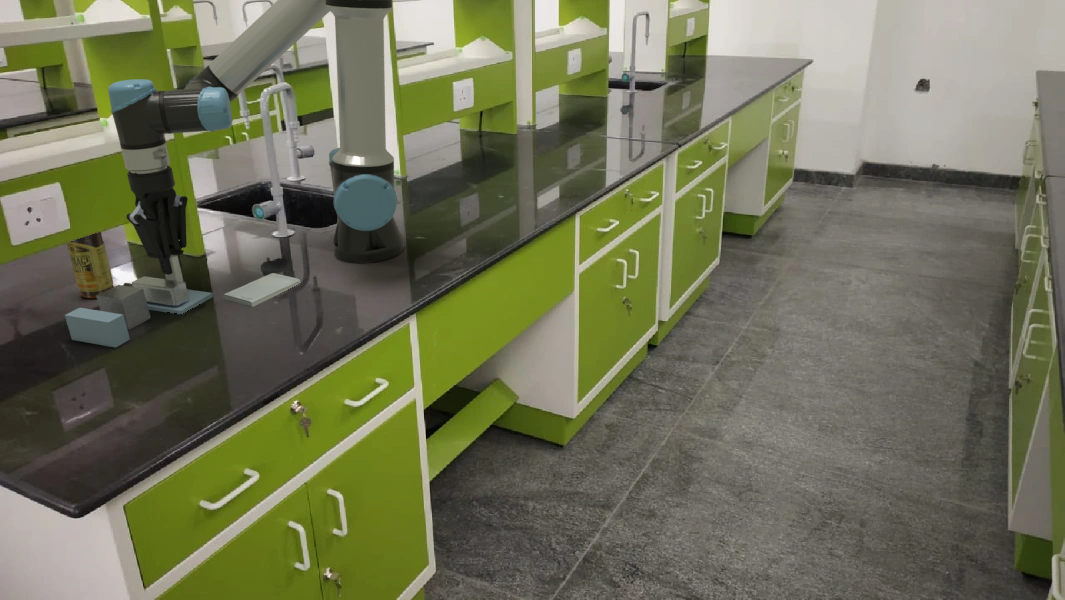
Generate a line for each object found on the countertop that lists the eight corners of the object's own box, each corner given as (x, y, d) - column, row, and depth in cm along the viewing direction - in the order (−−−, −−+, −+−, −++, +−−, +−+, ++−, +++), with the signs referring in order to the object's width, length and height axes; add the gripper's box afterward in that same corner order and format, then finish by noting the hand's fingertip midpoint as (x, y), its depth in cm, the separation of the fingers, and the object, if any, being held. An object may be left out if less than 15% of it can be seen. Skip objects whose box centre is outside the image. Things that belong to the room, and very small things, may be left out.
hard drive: (251, 301, 152) (300, 278, 161) (222, 293, 156) (271, 271, 165) (253, 309, 152) (301, 286, 162) (223, 301, 156) (272, 279, 166)
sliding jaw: (189, 299, 153) (185, 282, 152) (176, 306, 150) (171, 289, 149) (133, 291, 158) (129, 274, 156) (120, 298, 155) (115, 280, 153)
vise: (213, 296, 157) (208, 273, 155) (122, 348, 138) (115, 323, 136) (161, 289, 161) (155, 266, 160) (65, 338, 142) (58, 314, 140)
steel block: (150, 318, 149) (143, 288, 147) (129, 330, 145) (121, 299, 142) (126, 314, 151) (118, 284, 149) (104, 325, 147) (96, 295, 144)
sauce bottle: (73, 297, 159) (45, 200, 151) (100, 285, 164) (74, 191, 156) (97, 302, 157) (69, 203, 148) (123, 290, 162) (98, 194, 153)
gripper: (137, 179, 140) (166, 303, 150) (190, 160, 151) (214, 277, 161) (104, 176, 143) (135, 298, 153) (159, 158, 154) (185, 272, 164)
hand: (176, 287), depth 157 cm, fingers closed
